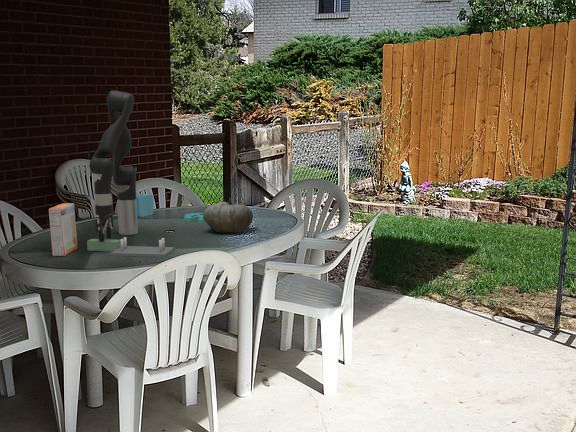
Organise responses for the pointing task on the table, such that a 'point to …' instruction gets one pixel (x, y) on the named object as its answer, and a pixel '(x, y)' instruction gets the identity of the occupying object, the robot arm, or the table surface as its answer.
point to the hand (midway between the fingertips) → (105, 239)
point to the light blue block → (144, 205)
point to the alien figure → (194, 217)
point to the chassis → (142, 250)
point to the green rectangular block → (103, 245)
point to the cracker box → (63, 229)
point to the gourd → (228, 217)
